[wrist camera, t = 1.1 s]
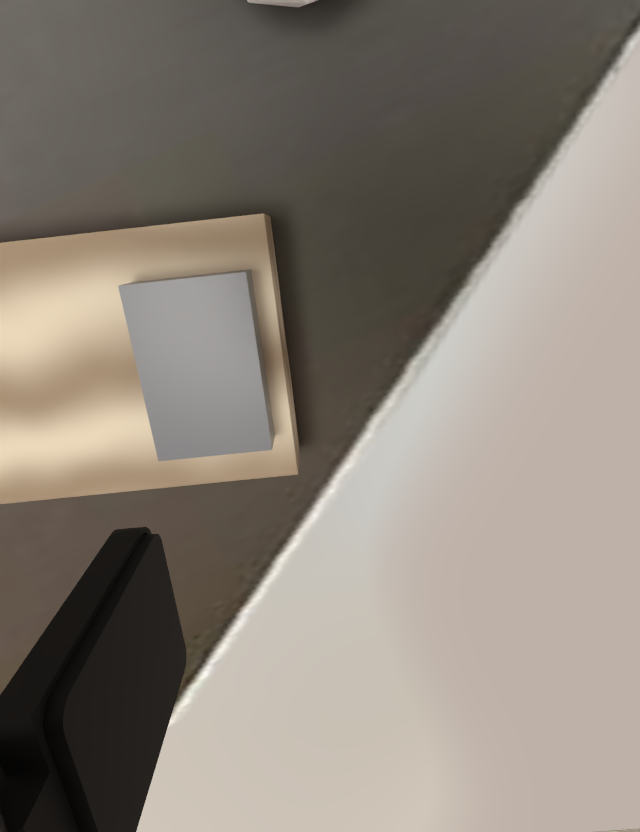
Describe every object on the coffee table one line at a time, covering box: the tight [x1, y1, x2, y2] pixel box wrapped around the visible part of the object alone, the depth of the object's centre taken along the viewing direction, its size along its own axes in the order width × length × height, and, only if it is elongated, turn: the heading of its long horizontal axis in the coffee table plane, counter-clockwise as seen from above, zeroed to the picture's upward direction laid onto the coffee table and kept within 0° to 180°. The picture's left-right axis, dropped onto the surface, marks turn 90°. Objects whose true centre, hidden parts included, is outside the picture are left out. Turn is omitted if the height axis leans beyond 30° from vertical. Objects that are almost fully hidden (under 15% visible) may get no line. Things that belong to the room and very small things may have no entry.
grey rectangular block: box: [118, 269, 275, 461], centre depth 26 cm, size 9×6×2 cm, turn 6°
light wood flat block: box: [0, 213, 300, 504], centre depth 29 cm, size 14×18×4 cm
